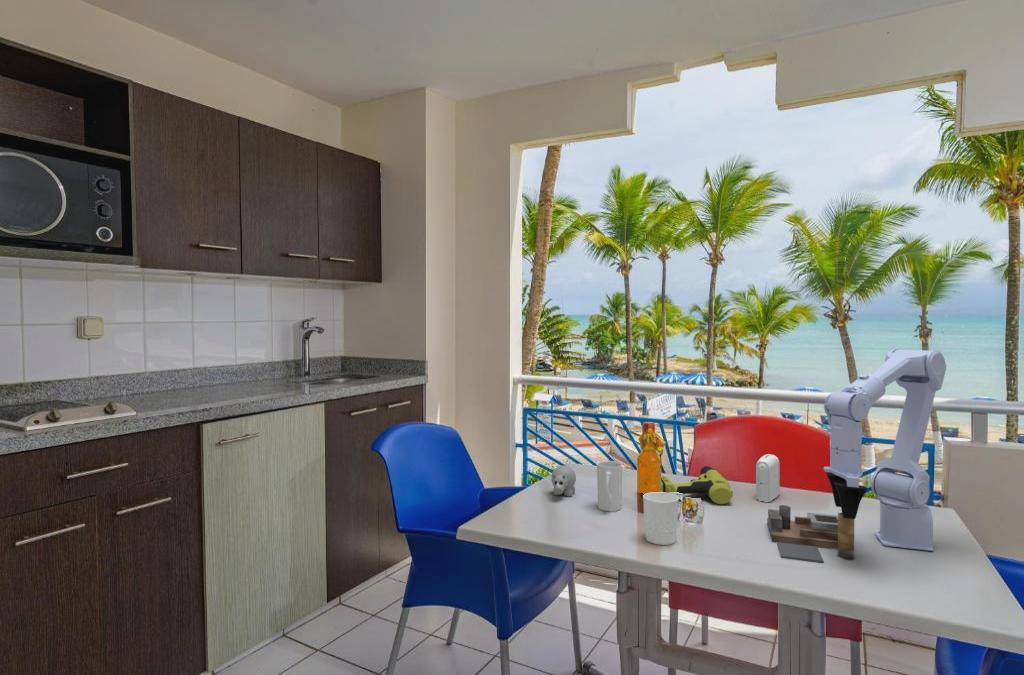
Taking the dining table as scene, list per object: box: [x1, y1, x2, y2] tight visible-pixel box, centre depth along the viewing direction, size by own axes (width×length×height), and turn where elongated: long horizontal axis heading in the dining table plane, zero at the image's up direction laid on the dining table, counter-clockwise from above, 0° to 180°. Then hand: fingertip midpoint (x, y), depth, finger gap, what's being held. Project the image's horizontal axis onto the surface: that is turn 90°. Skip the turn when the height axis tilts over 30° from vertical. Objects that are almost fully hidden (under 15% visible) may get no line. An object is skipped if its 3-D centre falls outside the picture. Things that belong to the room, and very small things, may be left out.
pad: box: [776, 542, 824, 564], centre depth 120 cm, size 8×8×1 cm
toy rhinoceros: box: [550, 465, 577, 498], centre depth 161 cm, size 7×12×8 cm, turn 161°
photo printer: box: [755, 453, 780, 503], centre depth 159 cm, size 10×4×12 cm, turn 138°
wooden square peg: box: [837, 512, 855, 561], centre depth 118 cm, size 3×3×9 cm
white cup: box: [642, 492, 679, 546], centre depth 128 cm, size 8×8×10 cm
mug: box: [596, 460, 623, 512], centre depth 150 cm, size 10×7×12 cm, turn 164°
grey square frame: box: [806, 512, 838, 532], centre depth 128 cm, size 7×7×3 cm
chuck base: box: [766, 504, 838, 550], centre depth 130 cm, size 16×12×6 cm
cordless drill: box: [661, 465, 734, 505], centre depth 165 cm, size 7×25×25 cm
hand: (845, 512), depth 118 cm, fingers open, 7 cm apart
